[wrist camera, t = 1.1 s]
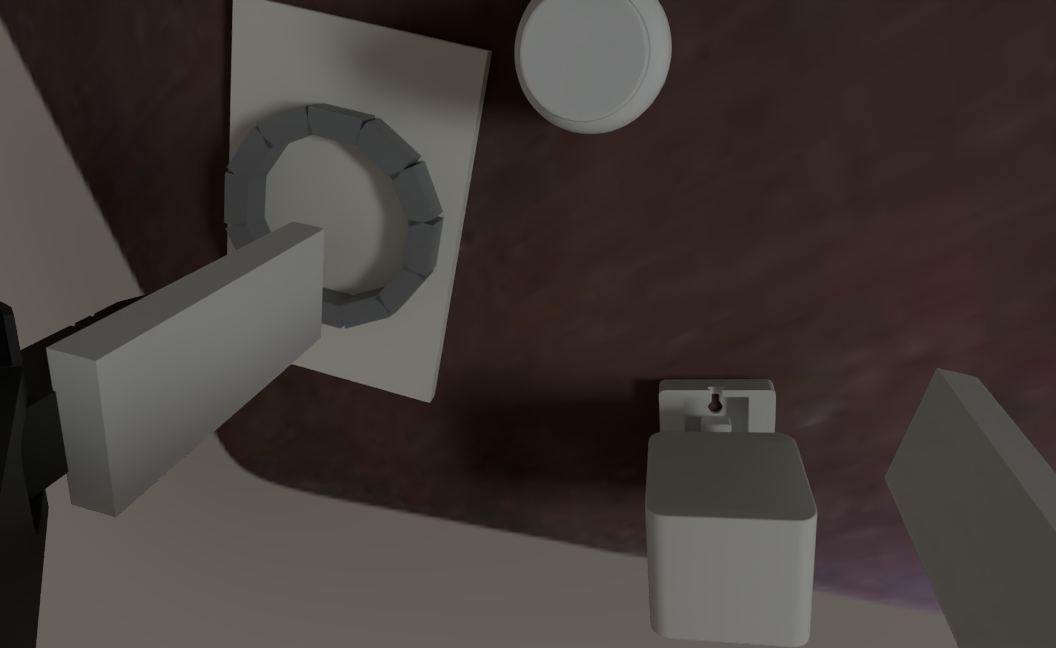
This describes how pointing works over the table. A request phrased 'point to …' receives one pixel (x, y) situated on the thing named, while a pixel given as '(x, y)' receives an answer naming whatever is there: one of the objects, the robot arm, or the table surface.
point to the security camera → (727, 518)
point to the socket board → (358, 176)
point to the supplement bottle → (592, 60)
